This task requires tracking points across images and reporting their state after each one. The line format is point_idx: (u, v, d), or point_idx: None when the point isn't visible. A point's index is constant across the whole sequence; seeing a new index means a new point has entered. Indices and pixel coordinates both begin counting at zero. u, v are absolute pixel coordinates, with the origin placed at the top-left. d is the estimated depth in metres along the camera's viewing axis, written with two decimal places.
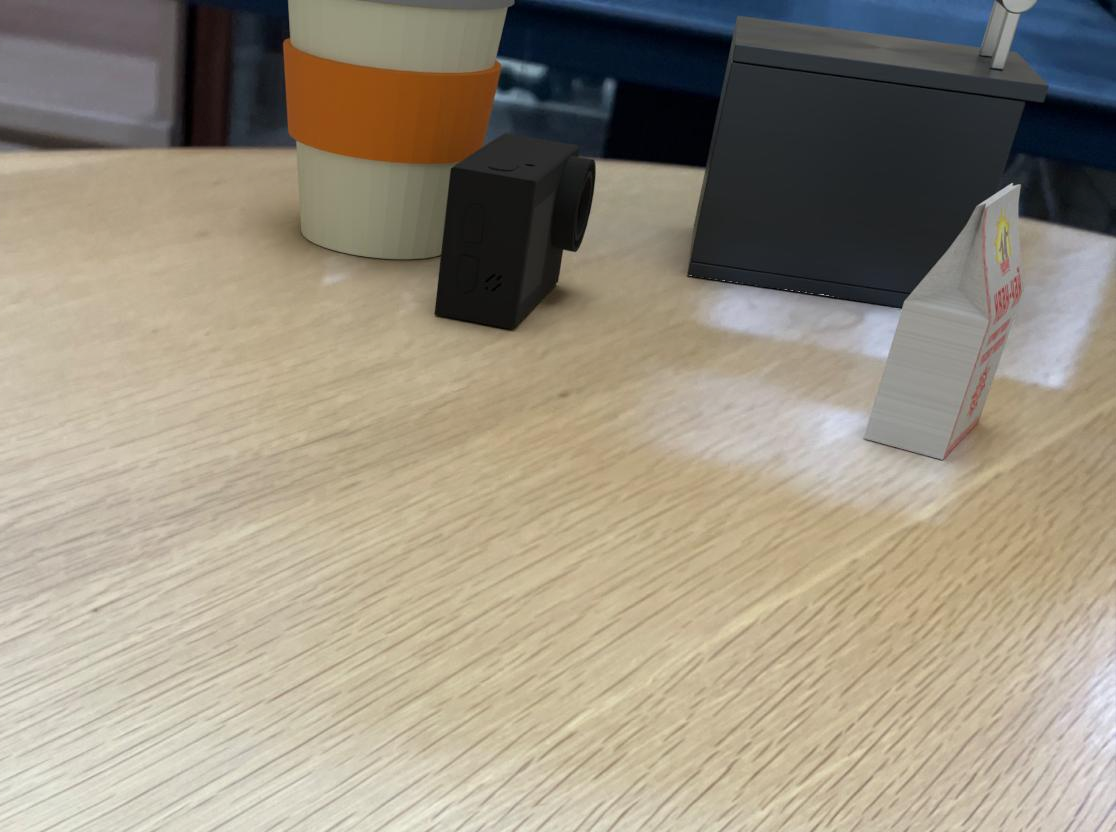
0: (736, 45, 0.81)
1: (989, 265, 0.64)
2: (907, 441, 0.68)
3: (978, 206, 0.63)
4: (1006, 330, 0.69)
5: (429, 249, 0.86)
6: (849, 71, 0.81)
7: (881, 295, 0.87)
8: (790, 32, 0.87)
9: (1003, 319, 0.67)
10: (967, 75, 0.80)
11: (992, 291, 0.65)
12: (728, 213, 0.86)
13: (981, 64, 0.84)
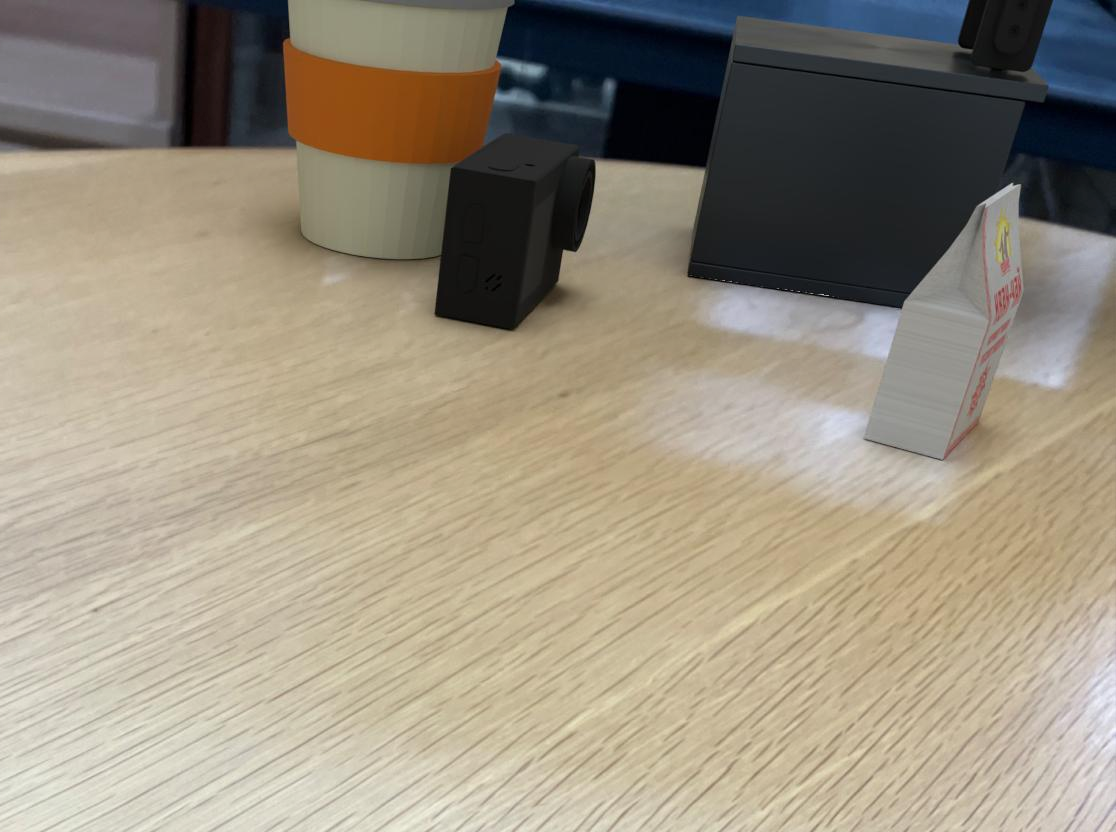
0: (736, 45, 0.81)
1: (989, 265, 0.64)
2: (907, 441, 0.68)
3: (978, 206, 0.63)
4: (1006, 330, 0.69)
5: (429, 249, 0.86)
6: (849, 71, 0.81)
7: (881, 295, 0.87)
8: (790, 32, 0.87)
9: (1003, 319, 0.67)
10: (967, 75, 0.80)
11: (993, 291, 0.65)
12: (728, 213, 0.86)
13: None
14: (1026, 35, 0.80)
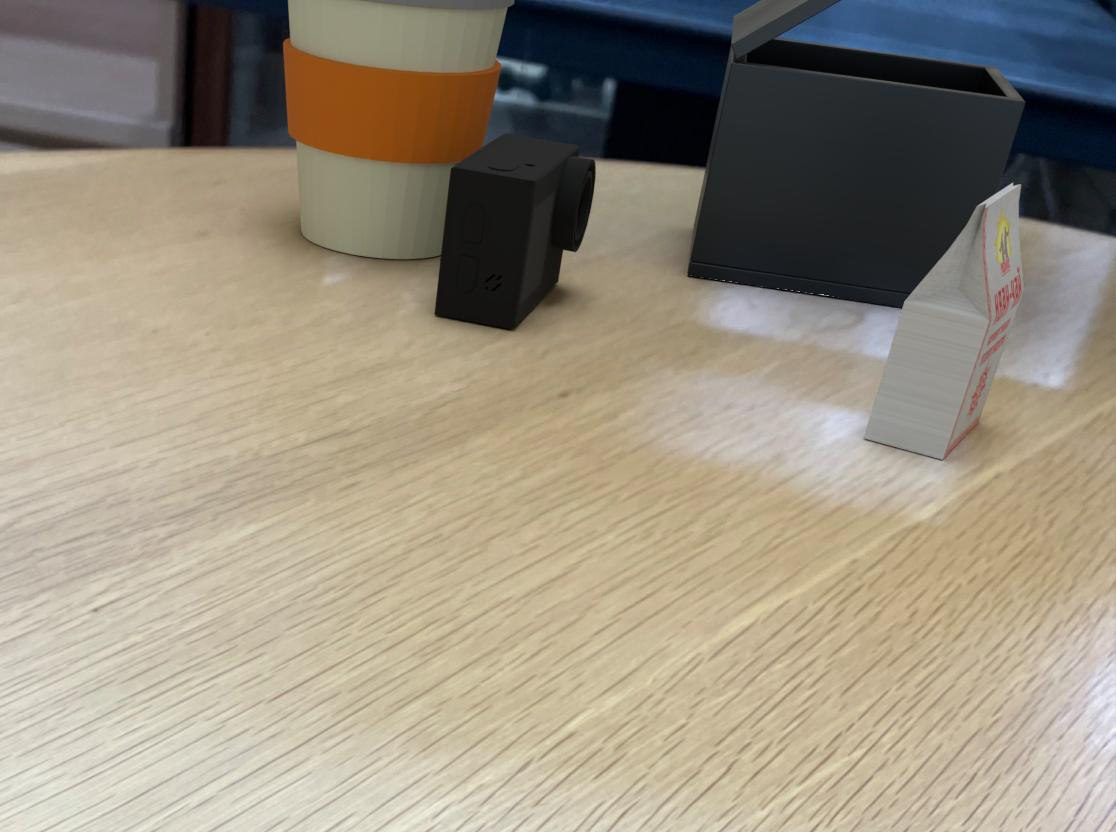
0: (732, 45, 0.81)
1: (989, 265, 0.64)
2: (907, 441, 0.68)
3: (978, 206, 0.63)
4: (1006, 330, 0.69)
5: (429, 249, 0.86)
6: None
7: (881, 295, 0.87)
8: None
9: (1003, 319, 0.67)
10: None
11: (993, 291, 0.65)
12: (728, 213, 0.86)
13: None
14: None
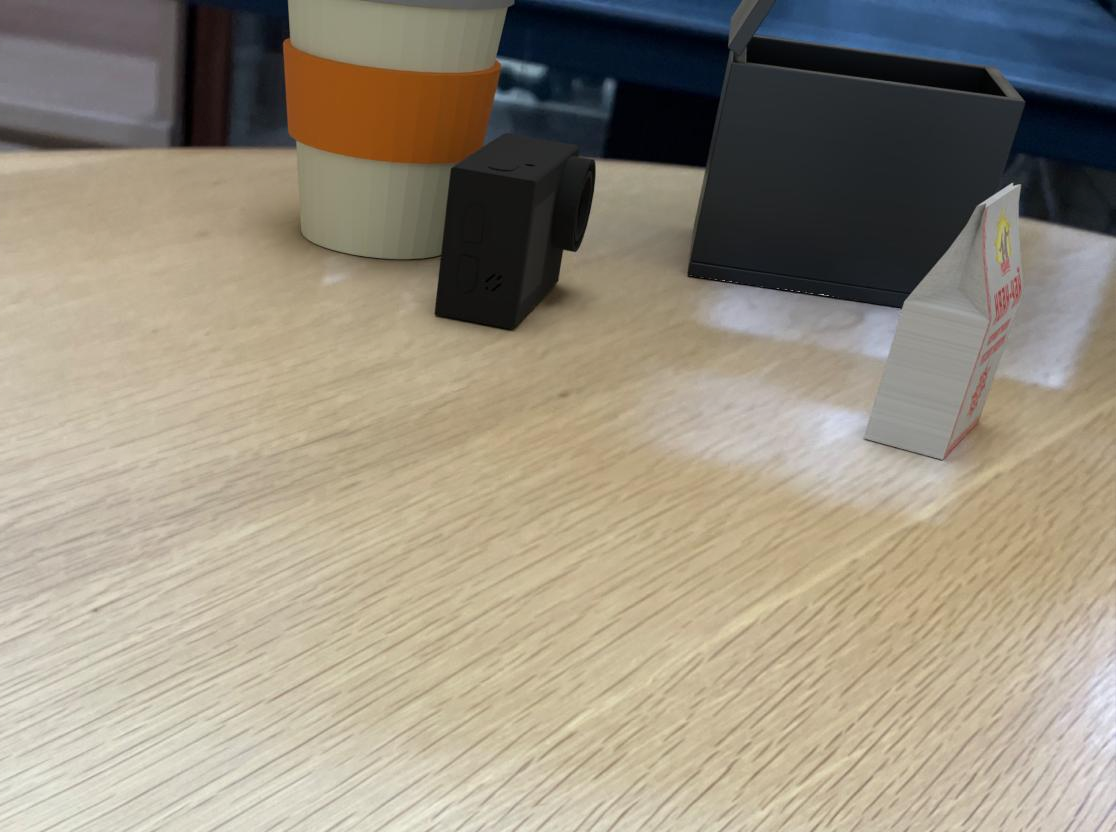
0: (729, 47, 0.81)
1: (989, 265, 0.64)
2: (907, 441, 0.68)
3: (978, 206, 0.63)
4: (1006, 330, 0.69)
5: (429, 249, 0.86)
6: None
7: (881, 295, 0.87)
8: None
9: (1003, 319, 0.67)
10: None
11: (993, 291, 0.65)
12: (728, 213, 0.86)
13: None
14: None
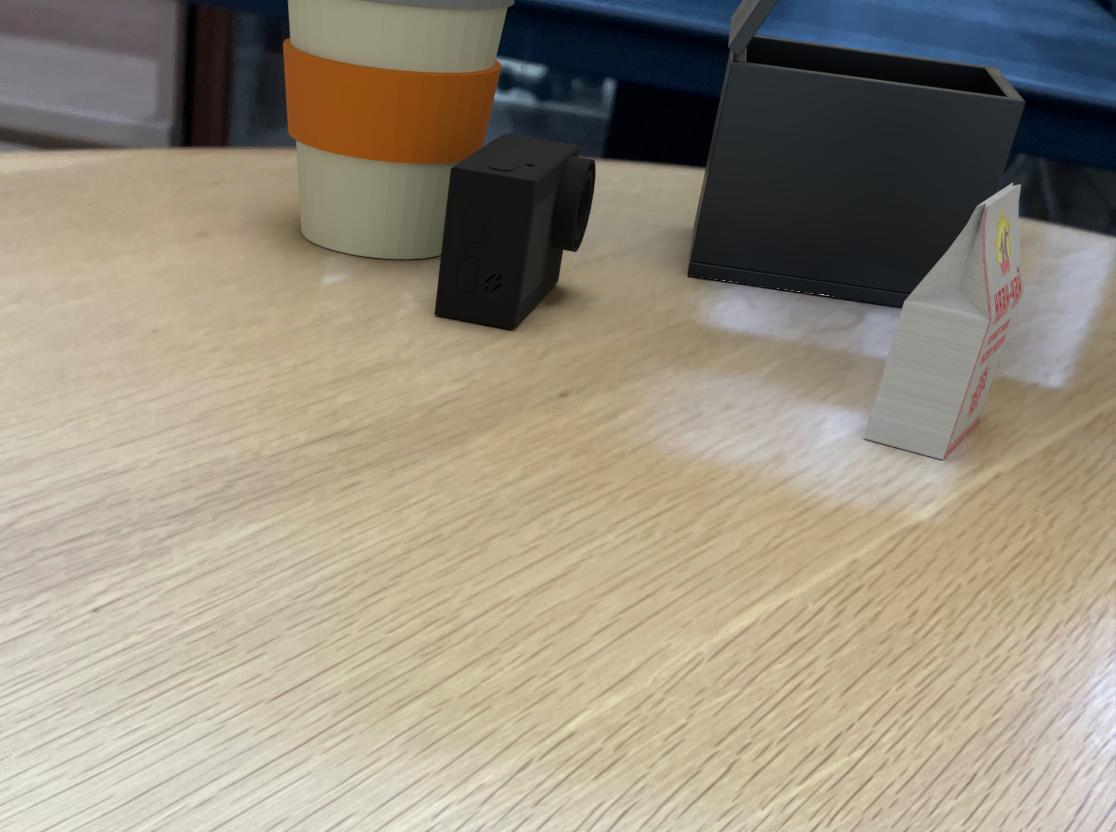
0: (729, 47, 0.81)
1: (989, 265, 0.64)
2: (907, 441, 0.68)
3: (978, 206, 0.63)
4: (1006, 330, 0.69)
5: (429, 249, 0.86)
6: None
7: (881, 295, 0.87)
8: None
9: (1003, 319, 0.67)
10: None
11: (993, 291, 0.65)
12: (728, 213, 0.86)
13: None
14: None
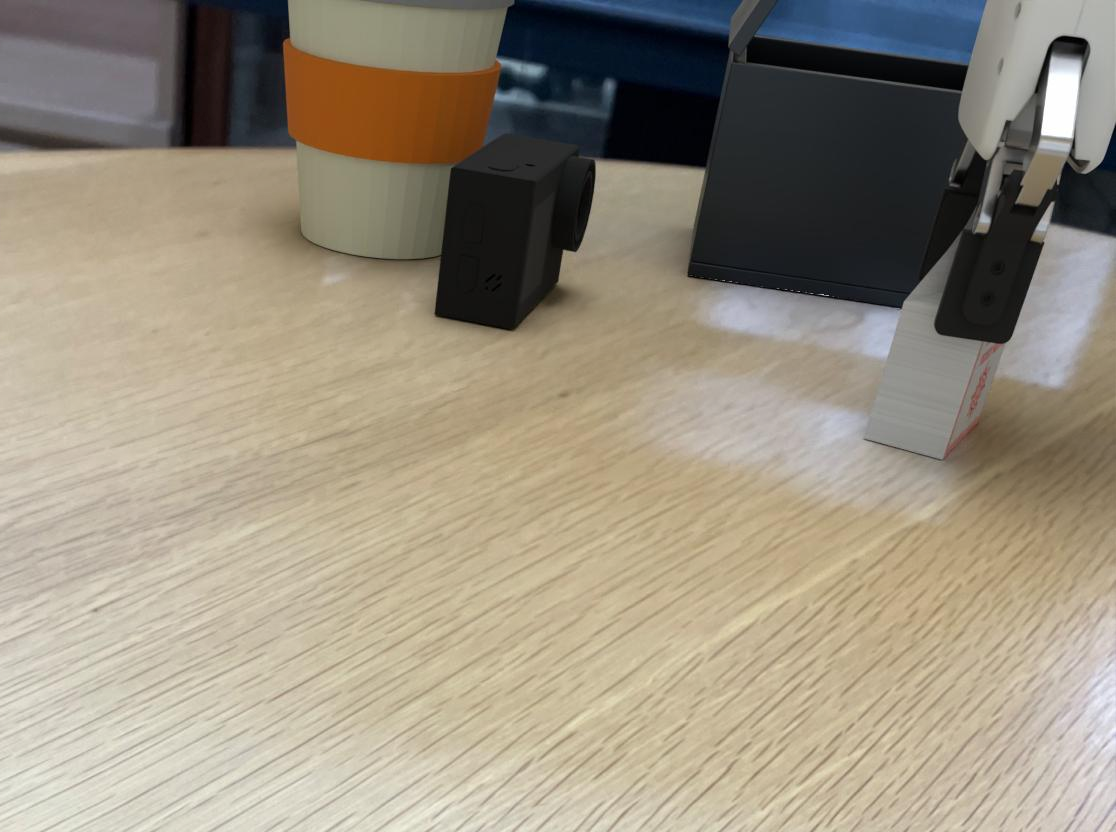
0: (729, 47, 0.81)
1: None
2: (906, 441, 0.68)
3: None
4: None
5: (429, 249, 0.86)
6: None
7: (881, 295, 0.87)
8: None
9: None
10: None
11: None
12: (728, 213, 0.86)
13: None
14: (1004, 304, 0.63)
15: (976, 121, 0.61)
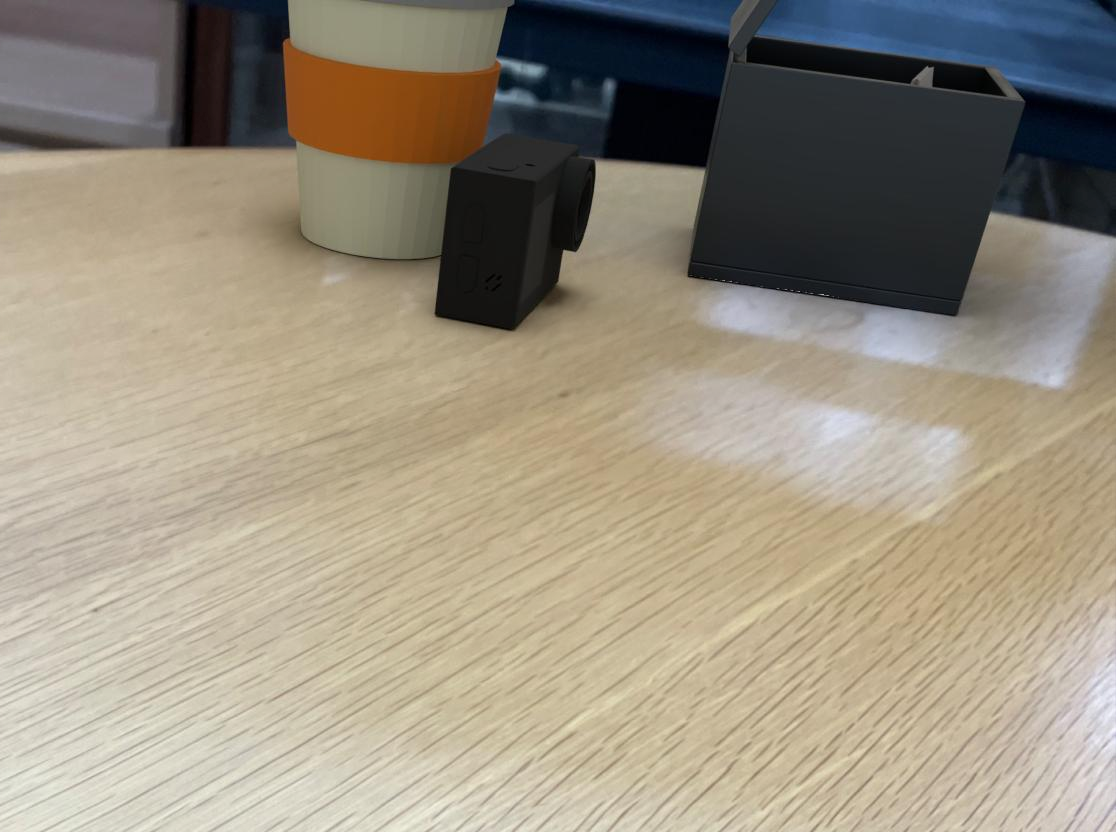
0: (729, 47, 0.81)
1: None
2: None
3: (913, 80, 0.83)
4: None
5: (429, 249, 0.86)
6: None
7: (881, 295, 0.87)
8: None
9: None
10: None
11: None
12: (728, 213, 0.86)
13: None
14: None
15: None
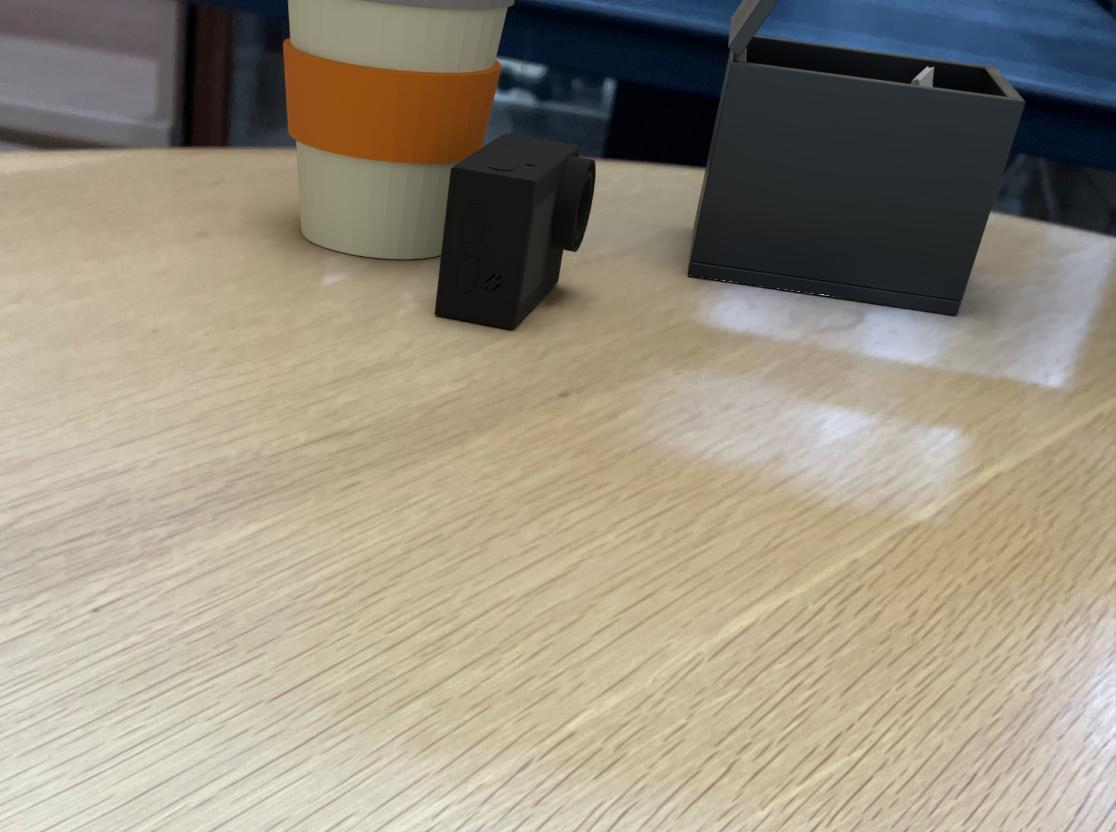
0: (729, 47, 0.81)
1: None
2: None
3: (913, 80, 0.83)
4: None
5: (429, 249, 0.86)
6: None
7: (881, 295, 0.87)
8: None
9: None
10: None
11: None
12: (728, 213, 0.86)
13: None
14: None
15: None
